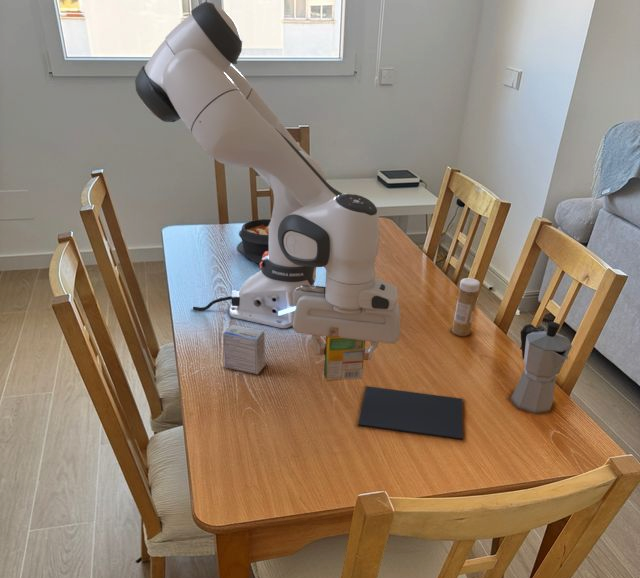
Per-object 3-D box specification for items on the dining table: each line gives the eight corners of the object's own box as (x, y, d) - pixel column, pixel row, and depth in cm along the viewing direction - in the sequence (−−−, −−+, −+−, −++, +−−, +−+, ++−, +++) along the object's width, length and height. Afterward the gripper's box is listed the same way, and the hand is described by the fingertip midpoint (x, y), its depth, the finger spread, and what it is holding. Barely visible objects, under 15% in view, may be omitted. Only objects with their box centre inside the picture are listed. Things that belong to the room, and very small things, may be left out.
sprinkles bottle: (473, 334, 156) (484, 282, 148) (460, 338, 153) (470, 286, 145) (460, 326, 159) (470, 275, 151) (447, 330, 156) (456, 279, 148)
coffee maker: (567, 415, 128) (593, 336, 118) (529, 421, 126) (553, 341, 115) (527, 377, 140) (548, 303, 129) (492, 382, 137) (510, 306, 127)
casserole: (306, 268, 184) (307, 240, 179) (242, 271, 180) (241, 243, 175) (289, 238, 204) (289, 212, 199) (231, 241, 200) (230, 214, 195)
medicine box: (265, 365, 139) (265, 330, 134) (257, 375, 135) (256, 339, 130) (233, 358, 141) (231, 323, 136) (224, 368, 137) (222, 332, 132)
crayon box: (358, 371, 127) (363, 319, 120) (362, 379, 125) (367, 326, 118) (323, 373, 126) (326, 321, 119) (326, 381, 123) (329, 328, 116)
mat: (358, 425, 122) (358, 424, 122) (366, 387, 133) (366, 386, 133) (462, 440, 120) (462, 438, 120) (461, 400, 131) (462, 398, 131)
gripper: (289, 290, 113) (288, 358, 121) (404, 303, 111) (395, 370, 119) (296, 276, 118) (294, 342, 126) (405, 288, 116) (397, 354, 124)
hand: (344, 356), depth 122 cm, fingers closed on crayon box, 7 cm apart
